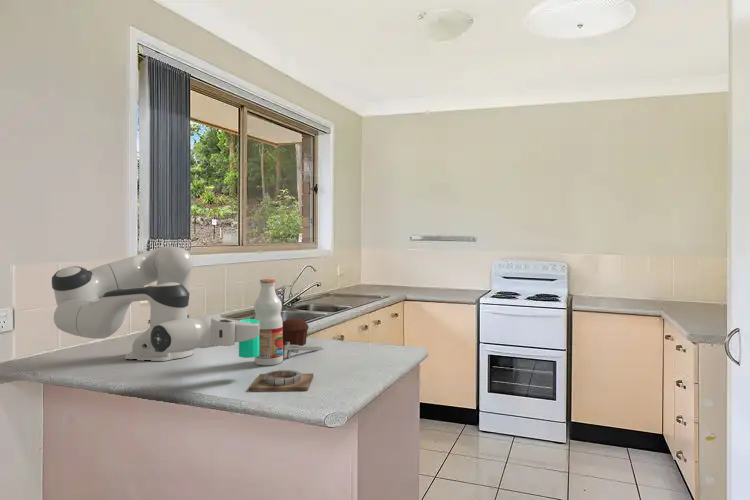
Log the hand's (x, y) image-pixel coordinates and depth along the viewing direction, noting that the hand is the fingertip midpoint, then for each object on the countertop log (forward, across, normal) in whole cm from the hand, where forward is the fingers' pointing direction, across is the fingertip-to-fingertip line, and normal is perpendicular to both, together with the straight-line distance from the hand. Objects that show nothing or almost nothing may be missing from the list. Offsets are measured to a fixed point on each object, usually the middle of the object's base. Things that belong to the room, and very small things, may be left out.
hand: (252, 324), depth 157 cm
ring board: (+1, +13, -16) cm, 20 cm away
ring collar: (+1, +13, -16) cm, 20 cm away
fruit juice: (+15, -10, -16) cm, 24 cm away
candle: (-1, 0, -9) cm, 9 cm away
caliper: (+31, -10, -16) cm, 36 cm away
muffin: (+40, -25, -16) cm, 50 cm away
